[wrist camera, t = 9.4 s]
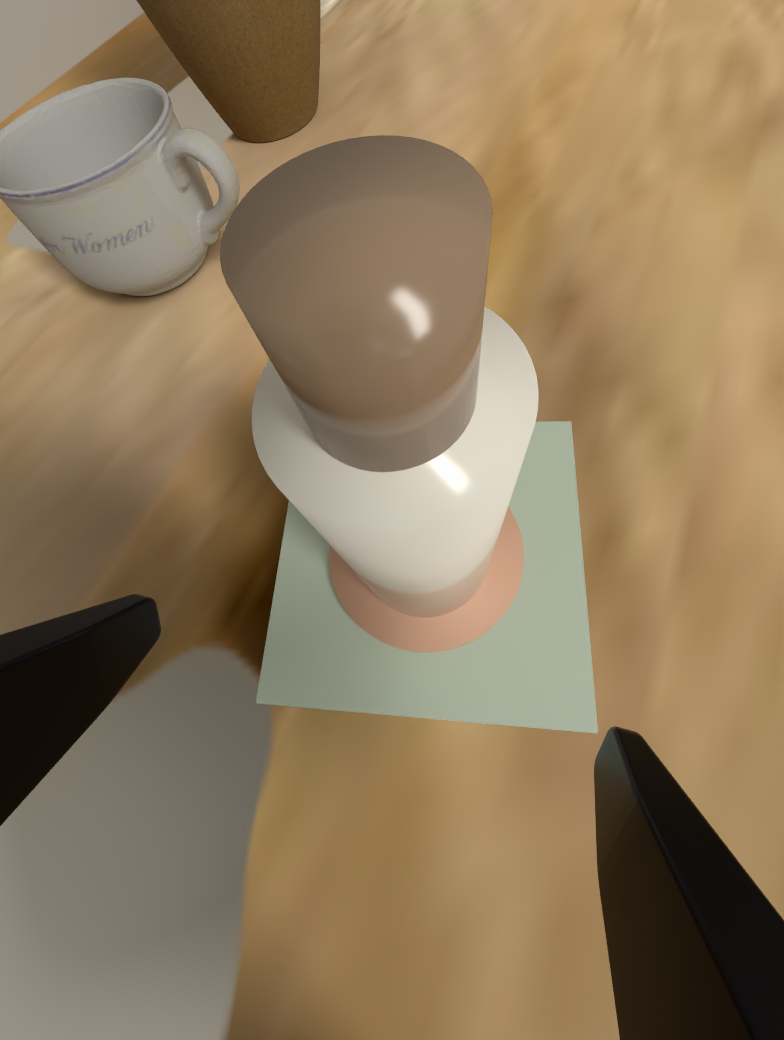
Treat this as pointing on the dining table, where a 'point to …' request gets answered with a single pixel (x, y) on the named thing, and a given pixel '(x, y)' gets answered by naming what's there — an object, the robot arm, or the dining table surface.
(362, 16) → the dining table surface
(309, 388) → the cosmetic bottle
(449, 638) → the stacking base
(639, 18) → the dining table surface
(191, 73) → the plant pot
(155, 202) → the teacup
